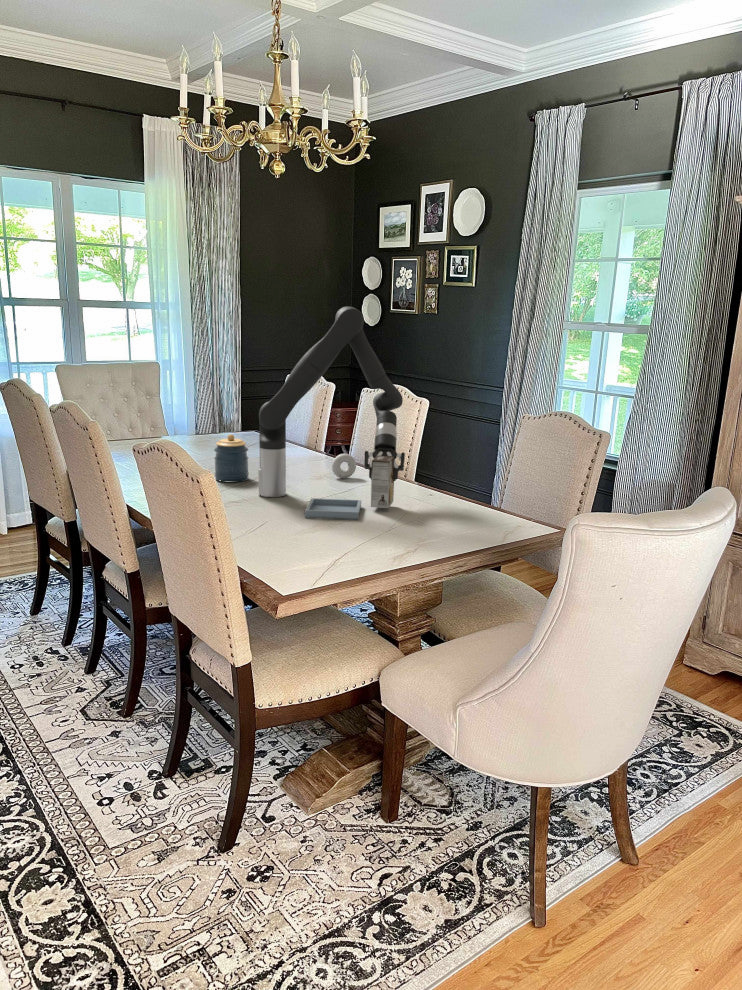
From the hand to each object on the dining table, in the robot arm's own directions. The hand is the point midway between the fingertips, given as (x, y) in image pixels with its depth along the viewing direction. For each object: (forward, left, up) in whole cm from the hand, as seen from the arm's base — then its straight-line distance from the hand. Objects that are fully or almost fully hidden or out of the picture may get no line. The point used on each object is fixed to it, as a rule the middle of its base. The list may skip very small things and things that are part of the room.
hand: (383, 479), depth 251 cm
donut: (-17, +44, -11) cm, 49 cm away
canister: (-60, +36, -11) cm, 71 cm away
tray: (-16, -7, -10) cm, 20 cm away
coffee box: (0, +1, -9) cm, 9 cm away
